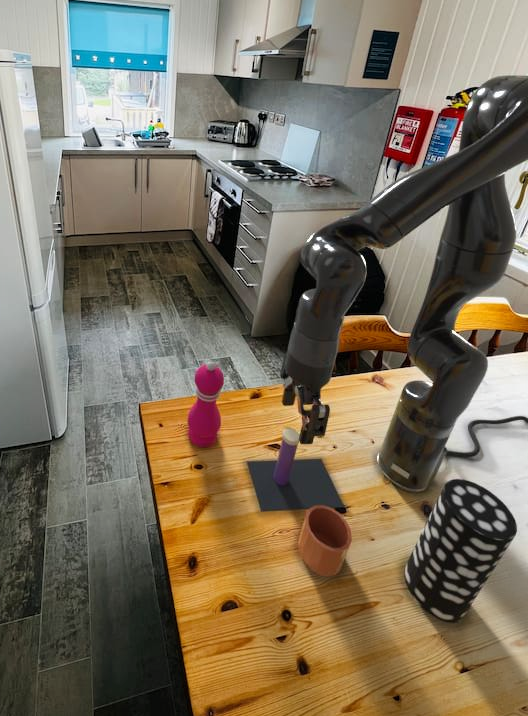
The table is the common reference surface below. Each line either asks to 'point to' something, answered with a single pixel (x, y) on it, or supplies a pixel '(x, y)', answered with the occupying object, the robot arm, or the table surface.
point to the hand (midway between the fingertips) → (295, 422)
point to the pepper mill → (206, 406)
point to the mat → (294, 486)
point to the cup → (324, 540)
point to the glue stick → (286, 456)
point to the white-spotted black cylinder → (458, 549)
